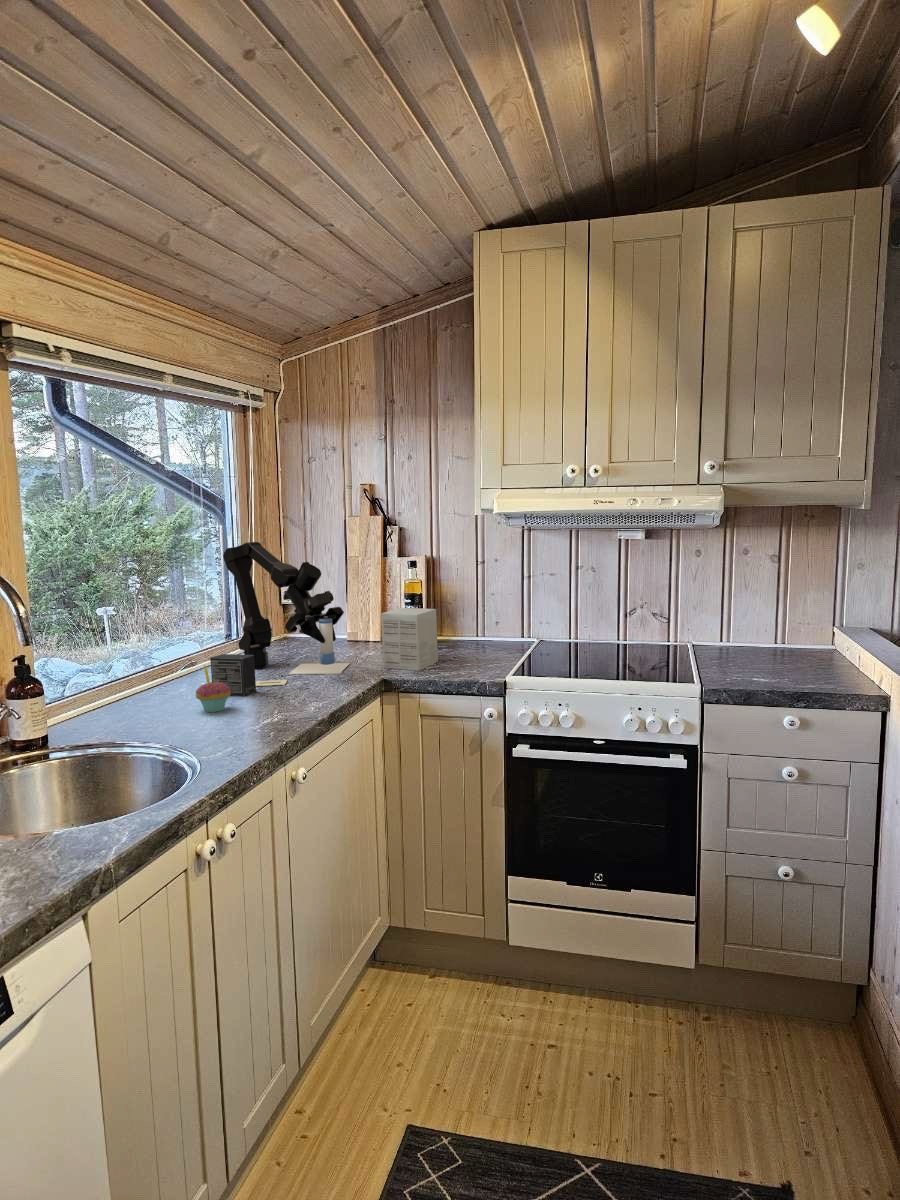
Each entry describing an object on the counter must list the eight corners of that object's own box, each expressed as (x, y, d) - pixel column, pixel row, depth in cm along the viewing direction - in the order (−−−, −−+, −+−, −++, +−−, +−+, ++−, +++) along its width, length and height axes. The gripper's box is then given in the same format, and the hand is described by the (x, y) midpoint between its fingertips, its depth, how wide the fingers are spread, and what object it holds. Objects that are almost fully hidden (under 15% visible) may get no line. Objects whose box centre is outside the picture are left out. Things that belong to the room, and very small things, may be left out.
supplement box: (402, 660, 255) (400, 607, 253) (438, 662, 250) (437, 608, 248) (382, 668, 244) (379, 612, 241) (419, 671, 238) (417, 614, 236)
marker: (318, 664, 226) (316, 620, 224) (322, 661, 230) (320, 618, 228) (332, 664, 226) (330, 620, 224) (336, 661, 230) (334, 617, 228)
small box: (257, 691, 218) (255, 654, 216) (244, 696, 212) (242, 658, 210) (225, 689, 221) (223, 652, 220) (211, 694, 215) (208, 657, 214)
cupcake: (212, 715, 193) (209, 668, 191) (189, 711, 197) (186, 665, 196) (238, 707, 200) (235, 661, 198) (215, 704, 204) (212, 659, 203)
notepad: (288, 674, 237) (288, 673, 237) (302, 664, 253) (302, 662, 253) (340, 674, 236) (340, 672, 236) (350, 663, 252) (350, 661, 252)
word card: (252, 687, 222) (252, 685, 222) (255, 682, 228) (255, 680, 228) (285, 685, 223) (284, 684, 223) (287, 681, 229) (287, 679, 229)
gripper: (289, 586, 220) (317, 627, 215) (338, 580, 235) (365, 619, 229) (273, 611, 226) (300, 653, 221) (321, 604, 240) (348, 642, 235)
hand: (329, 641), depth 226 cm, fingers closed on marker, 4 cm apart
